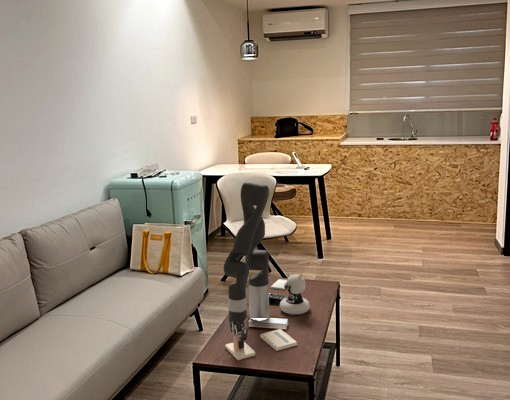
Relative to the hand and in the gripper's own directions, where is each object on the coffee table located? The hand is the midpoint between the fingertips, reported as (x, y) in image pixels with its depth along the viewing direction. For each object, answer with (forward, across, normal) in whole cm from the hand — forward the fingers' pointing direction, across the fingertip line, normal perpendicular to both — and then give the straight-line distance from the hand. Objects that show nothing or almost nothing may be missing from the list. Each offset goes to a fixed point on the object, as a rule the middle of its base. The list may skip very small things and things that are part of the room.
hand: (238, 345), depth 220 cm
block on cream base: (+3, 0, 0) cm, 3 cm away
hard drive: (+4, -55, +52) cm, 76 cm away
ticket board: (+3, 0, +19) cm, 19 cm away
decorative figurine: (+3, -24, +42) cm, 48 cm away
